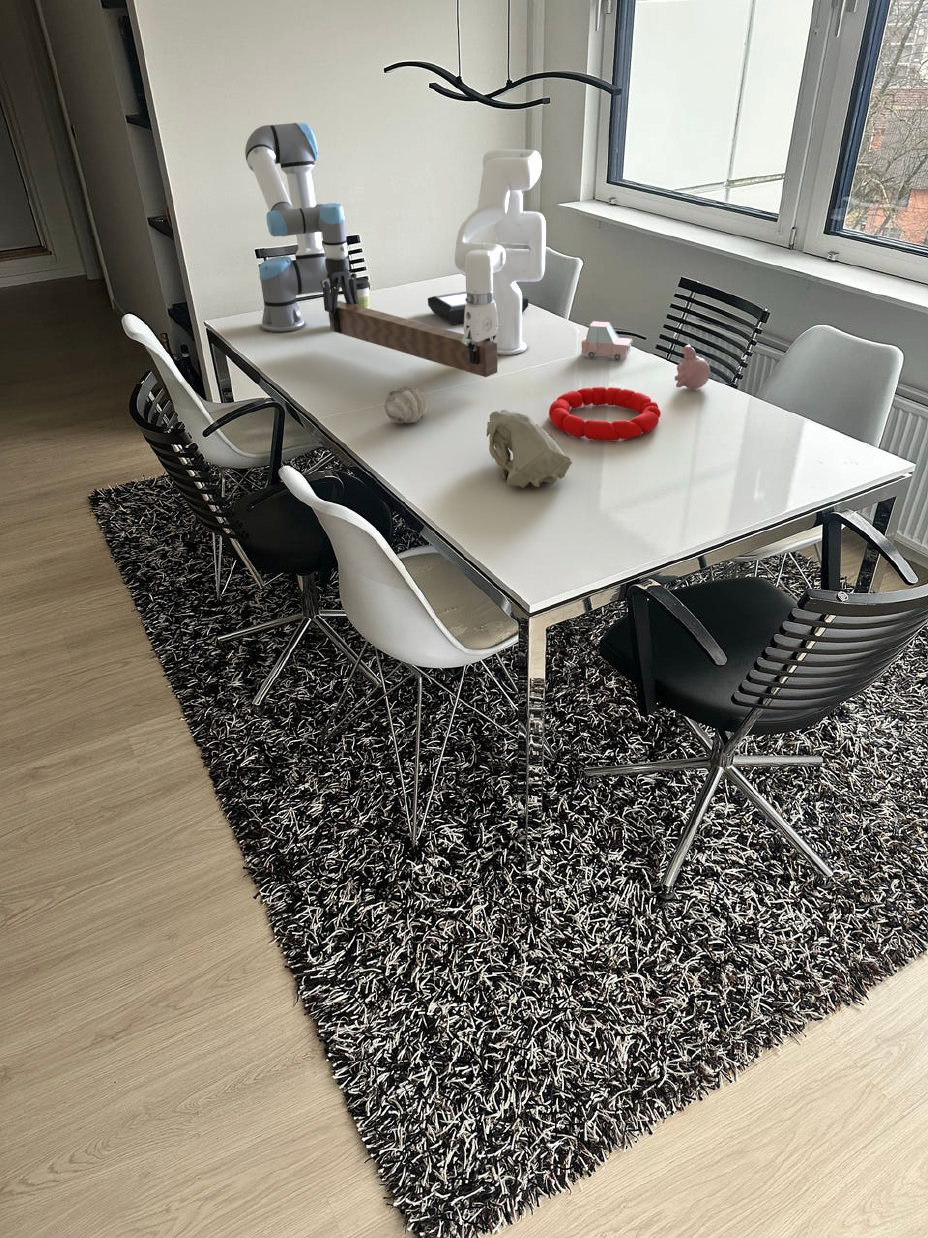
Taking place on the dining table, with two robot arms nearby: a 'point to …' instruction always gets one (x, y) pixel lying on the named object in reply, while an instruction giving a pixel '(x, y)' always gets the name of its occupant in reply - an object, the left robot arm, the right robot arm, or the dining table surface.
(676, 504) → the dining table surface
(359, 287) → the coffee cup
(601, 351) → the toy car
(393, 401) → the seashell
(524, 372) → the dining table surface
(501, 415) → the animal skull
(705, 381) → the figurine
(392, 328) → the post
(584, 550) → the dining table surface
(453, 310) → the electronic device
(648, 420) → the decorative ring
